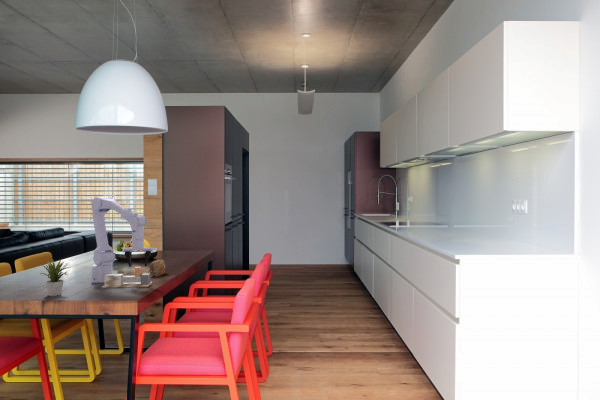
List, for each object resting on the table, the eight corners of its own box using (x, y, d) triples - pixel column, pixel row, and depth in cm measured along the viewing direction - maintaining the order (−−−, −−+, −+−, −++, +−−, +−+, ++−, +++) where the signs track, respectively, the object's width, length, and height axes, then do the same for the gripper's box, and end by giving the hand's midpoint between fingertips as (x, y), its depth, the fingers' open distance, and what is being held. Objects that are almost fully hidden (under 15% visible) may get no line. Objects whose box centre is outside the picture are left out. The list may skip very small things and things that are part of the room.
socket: (140, 284, 235) (140, 275, 235) (143, 282, 241) (143, 273, 241) (148, 284, 235) (148, 274, 235) (150, 282, 241) (150, 273, 241)
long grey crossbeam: (116, 283, 235) (116, 267, 235) (118, 281, 238) (118, 267, 238) (145, 282, 236) (145, 267, 236) (146, 281, 239) (146, 266, 239)
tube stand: (101, 287, 230) (101, 276, 230) (107, 283, 240) (107, 273, 240) (148, 286, 233) (148, 275, 233) (152, 282, 243) (152, 272, 243)
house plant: (67, 297, 207) (67, 260, 207) (33, 299, 204) (32, 261, 204) (76, 291, 221) (75, 256, 221) (43, 292, 218) (43, 257, 218)
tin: (153, 277, 260) (153, 262, 260) (148, 277, 261) (148, 262, 261) (166, 273, 275) (166, 258, 275) (161, 272, 275) (161, 258, 275)
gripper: (121, 240, 232) (121, 267, 232) (151, 239, 234) (151, 267, 234) (124, 238, 239) (124, 265, 239) (154, 238, 241) (154, 265, 241)
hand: (138, 266), depth 237 cm, fingers open, 7 cm apart
